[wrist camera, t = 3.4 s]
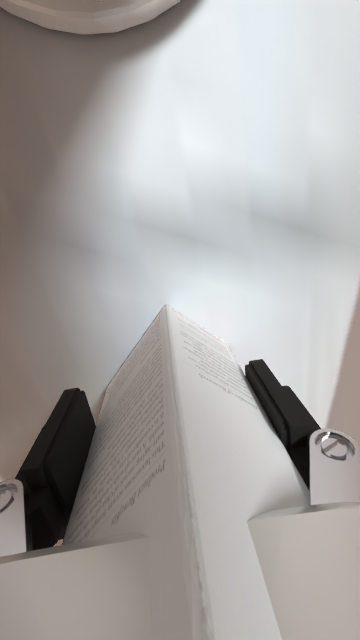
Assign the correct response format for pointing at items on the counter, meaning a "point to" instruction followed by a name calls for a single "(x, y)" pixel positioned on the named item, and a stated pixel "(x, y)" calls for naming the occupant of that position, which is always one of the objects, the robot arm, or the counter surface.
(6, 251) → the counter surface
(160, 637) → the skincare box
